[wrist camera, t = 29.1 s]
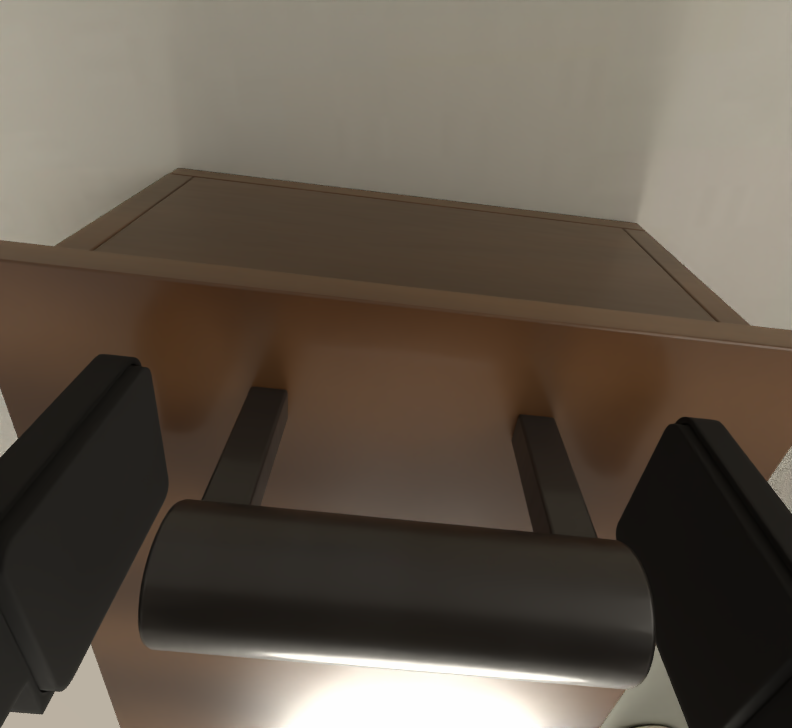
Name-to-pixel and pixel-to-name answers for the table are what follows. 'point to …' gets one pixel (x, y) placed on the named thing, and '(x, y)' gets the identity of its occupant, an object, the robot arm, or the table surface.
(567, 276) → the chest
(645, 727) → the drinking glass
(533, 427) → the lid
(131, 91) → the table surface
